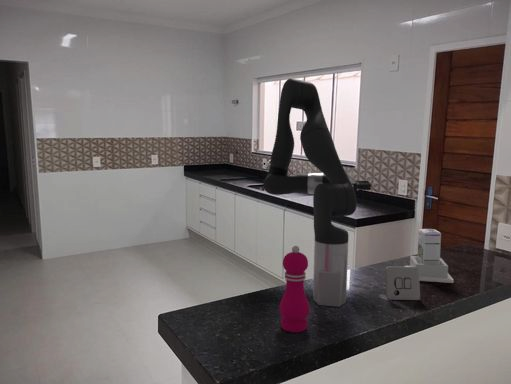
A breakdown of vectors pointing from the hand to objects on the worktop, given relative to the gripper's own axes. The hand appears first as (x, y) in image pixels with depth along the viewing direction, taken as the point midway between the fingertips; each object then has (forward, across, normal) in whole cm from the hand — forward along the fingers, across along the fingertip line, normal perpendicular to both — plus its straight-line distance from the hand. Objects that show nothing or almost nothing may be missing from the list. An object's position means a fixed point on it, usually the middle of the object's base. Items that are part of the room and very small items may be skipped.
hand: (369, 185), depth 141 cm
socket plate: (+20, 0, +30) cm, 36 cm away
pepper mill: (-20, -49, +30) cm, 61 cm away
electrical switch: (+8, -23, +30) cm, 39 cm away
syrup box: (+20, 0, +29) cm, 35 cm away
